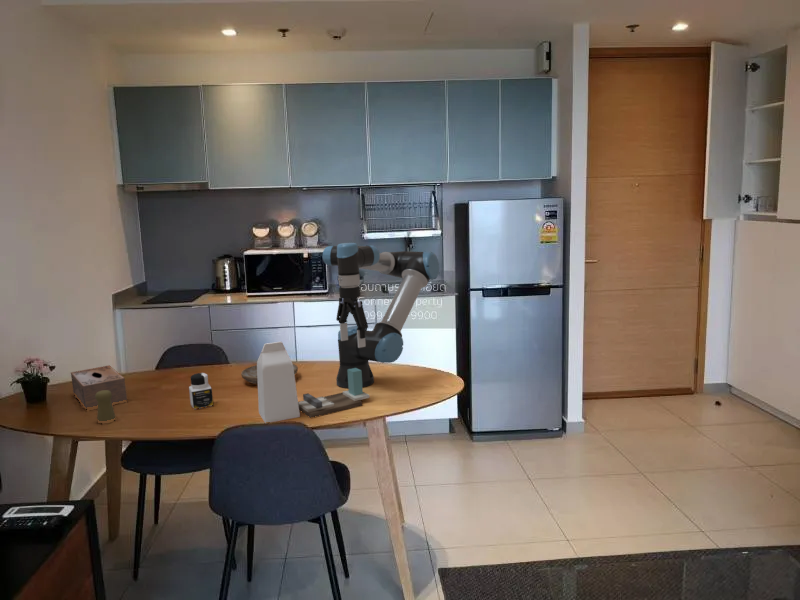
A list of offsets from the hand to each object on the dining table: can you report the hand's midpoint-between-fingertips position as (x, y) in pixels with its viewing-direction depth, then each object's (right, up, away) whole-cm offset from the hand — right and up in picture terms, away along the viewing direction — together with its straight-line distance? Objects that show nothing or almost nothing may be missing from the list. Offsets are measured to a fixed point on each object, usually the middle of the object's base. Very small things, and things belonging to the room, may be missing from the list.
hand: (352, 343), depth 223 cm
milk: (-25, -25, -9) cm, 36 cm away
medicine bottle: (-57, -24, +6) cm, 62 cm away
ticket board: (-9, -23, -2) cm, 24 cm away
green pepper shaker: (-87, -27, -7) cm, 91 cm away
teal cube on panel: (+1, -20, +3) cm, 20 cm away
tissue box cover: (-102, -24, +19) cm, 106 cm away
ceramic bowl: (-37, -18, +34) cm, 53 cm away
